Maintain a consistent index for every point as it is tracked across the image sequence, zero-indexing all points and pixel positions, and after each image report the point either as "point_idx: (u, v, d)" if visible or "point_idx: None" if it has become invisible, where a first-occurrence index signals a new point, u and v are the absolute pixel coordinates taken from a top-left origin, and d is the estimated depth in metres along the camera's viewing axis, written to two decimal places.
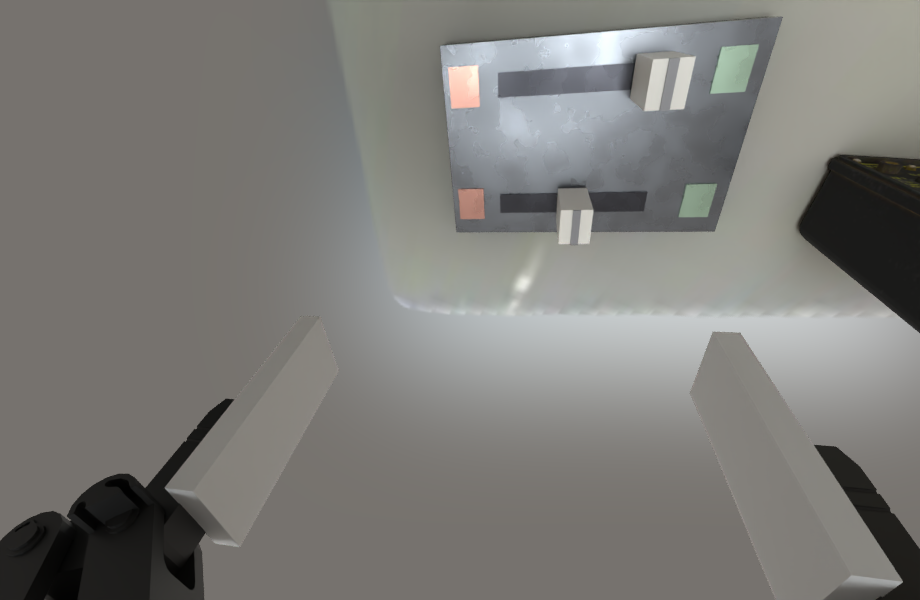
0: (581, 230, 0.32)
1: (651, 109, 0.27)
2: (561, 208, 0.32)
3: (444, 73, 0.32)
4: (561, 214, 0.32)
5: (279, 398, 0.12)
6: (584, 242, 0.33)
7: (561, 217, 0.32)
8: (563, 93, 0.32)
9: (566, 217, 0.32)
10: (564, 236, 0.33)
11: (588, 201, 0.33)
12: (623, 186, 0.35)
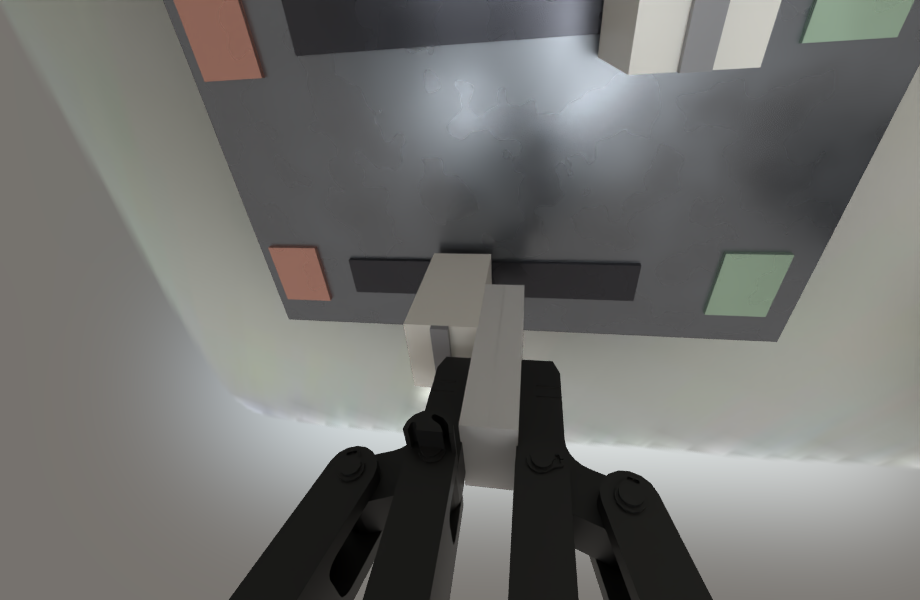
0: None
1: (652, 69, 0.08)
2: (408, 317, 0.14)
3: None
4: (406, 332, 0.13)
5: None
6: None
7: (408, 338, 0.14)
8: (441, 45, 0.13)
9: (419, 338, 0.14)
10: (424, 373, 0.14)
11: (477, 296, 0.14)
12: (591, 252, 0.17)
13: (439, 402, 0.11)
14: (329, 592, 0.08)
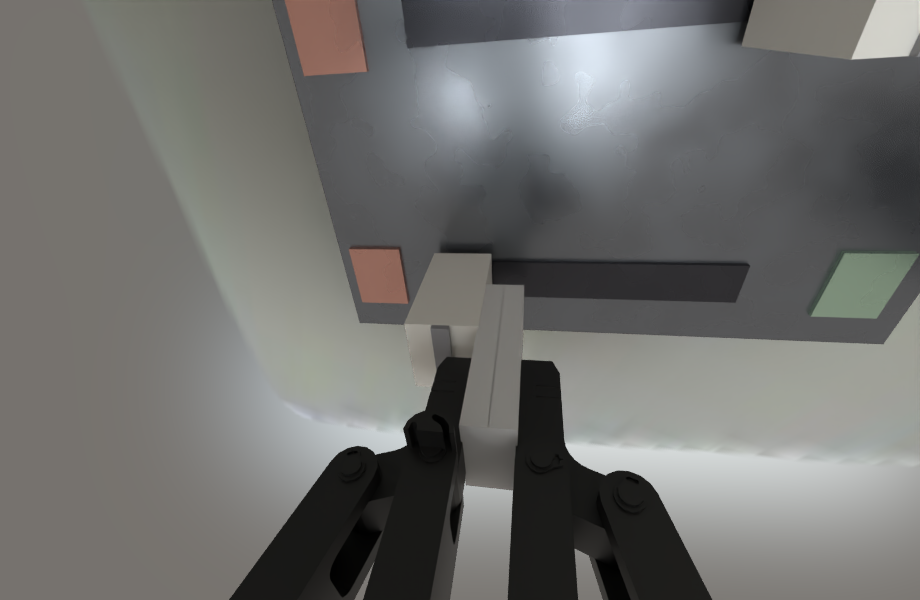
0: None
1: (880, 52, 0.08)
2: (409, 317, 0.14)
3: None
4: (407, 332, 0.13)
5: None
6: None
7: (409, 338, 0.14)
8: (567, 35, 0.12)
9: (420, 338, 0.14)
10: (425, 373, 0.14)
11: (478, 296, 0.14)
12: (696, 252, 0.16)
13: (439, 402, 0.11)
14: (329, 592, 0.08)
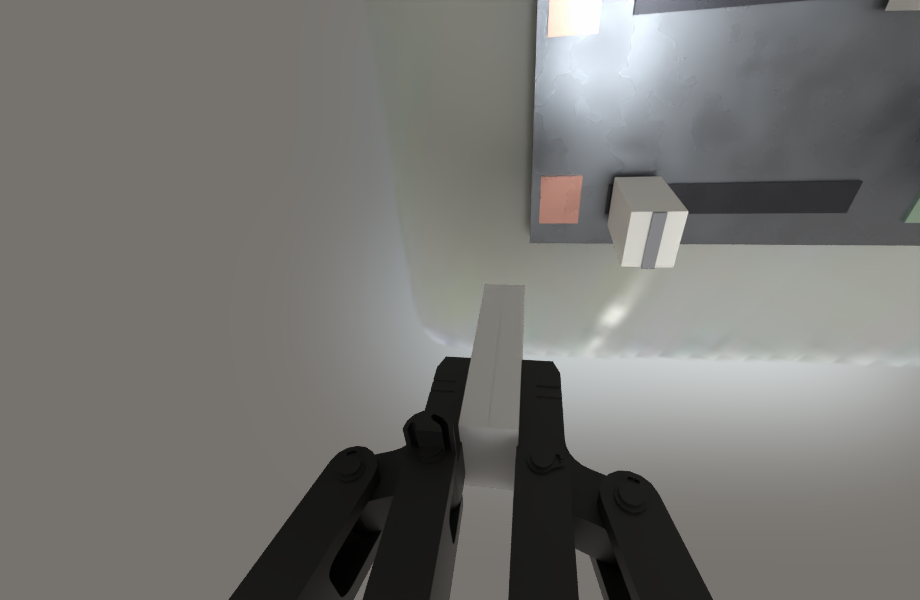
0: (663, 245, 0.19)
1: None
2: (631, 208, 0.19)
3: None
4: (631, 218, 0.19)
5: None
6: (665, 264, 0.20)
7: (631, 223, 0.19)
8: (756, 4, 0.18)
9: (640, 223, 0.19)
10: (632, 254, 0.20)
11: (673, 197, 0.20)
12: (821, 172, 0.21)
13: (439, 402, 0.11)
14: (328, 592, 0.08)
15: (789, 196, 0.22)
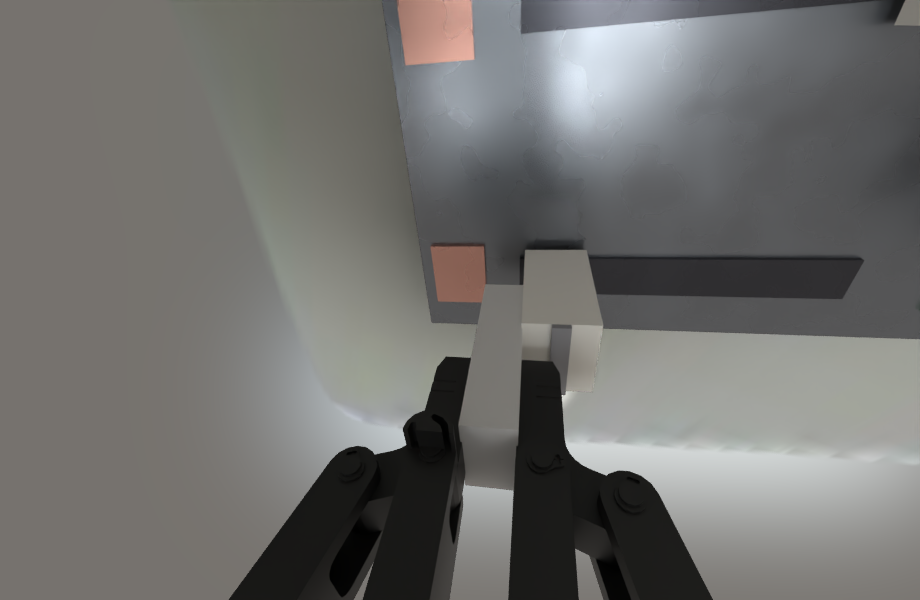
0: (573, 365, 0.13)
1: None
2: (524, 316, 0.13)
3: None
4: (523, 331, 0.13)
5: None
6: (581, 389, 0.14)
7: (524, 338, 0.13)
8: (698, 17, 0.12)
9: (536, 338, 0.13)
10: None
11: (590, 293, 0.14)
12: (805, 246, 0.15)
13: (439, 402, 0.11)
14: (329, 592, 0.08)
15: (762, 277, 0.16)
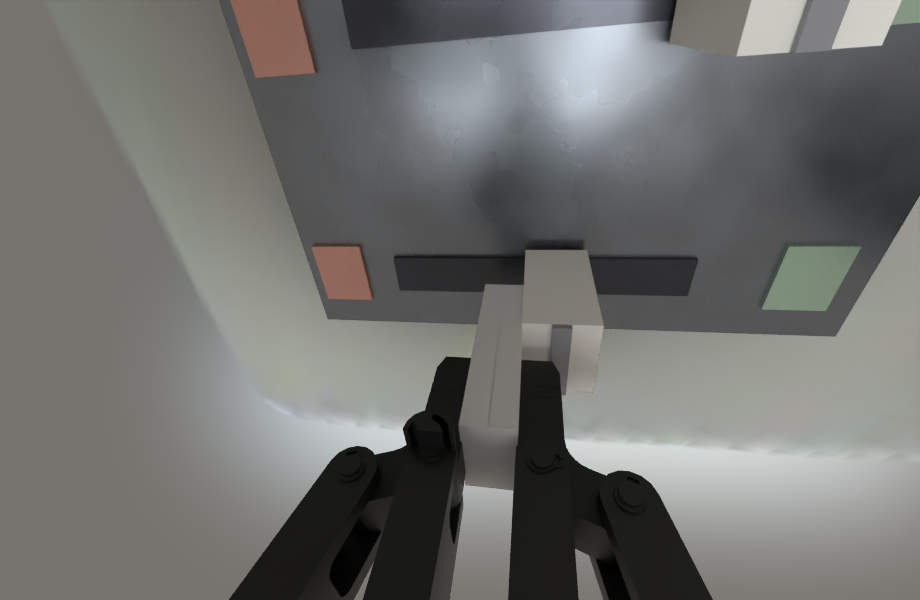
0: (574, 365, 0.13)
1: (762, 49, 0.08)
2: (524, 316, 0.13)
3: None
4: (524, 331, 0.13)
5: None
6: (581, 389, 0.14)
7: (524, 338, 0.13)
8: (503, 35, 0.13)
9: (537, 338, 0.13)
10: None
11: (590, 293, 0.14)
12: (645, 246, 0.16)
13: (439, 402, 0.11)
14: (329, 592, 0.08)
15: (612, 275, 0.17)
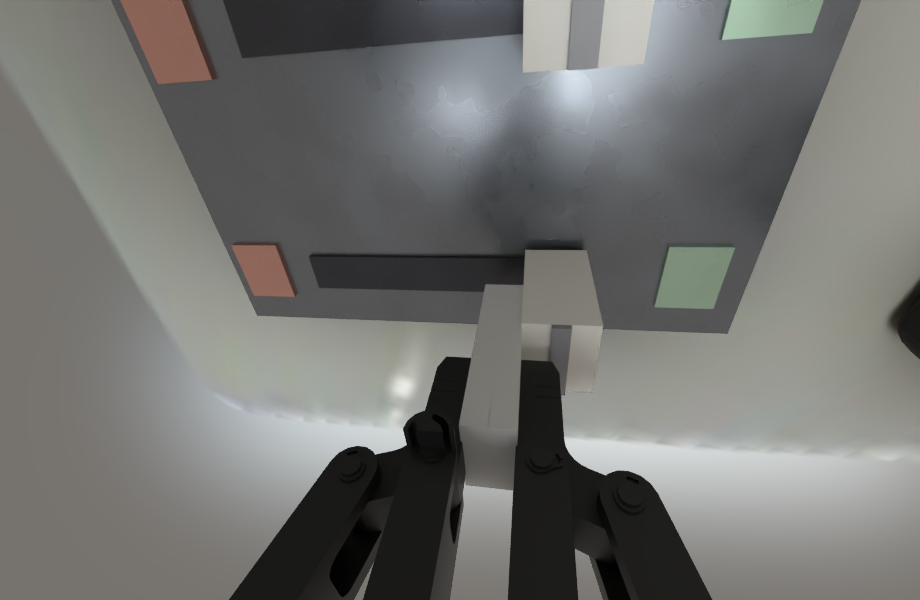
0: (573, 366, 0.13)
1: (544, 66, 0.09)
2: (524, 316, 0.13)
3: (116, 2, 0.14)
4: (523, 331, 0.13)
5: None
6: (580, 389, 0.14)
7: (524, 338, 0.13)
8: (379, 46, 0.14)
9: (536, 338, 0.13)
10: None
11: (590, 294, 0.14)
12: (540, 246, 0.17)
13: (439, 402, 0.11)
14: (329, 592, 0.08)
15: (513, 274, 0.18)
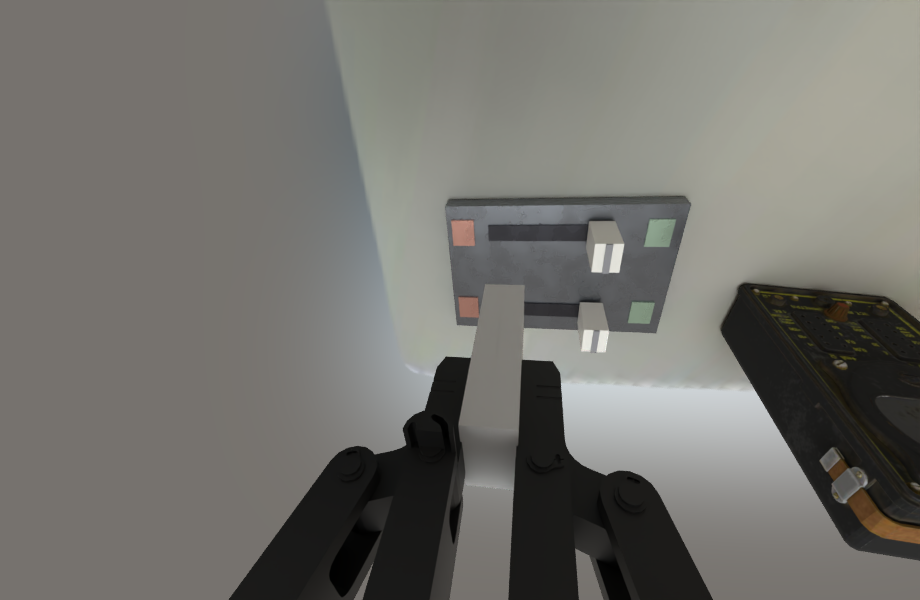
0: (599, 343, 0.42)
1: (596, 271, 0.37)
2: (584, 327, 0.42)
3: (448, 223, 0.43)
4: (584, 332, 0.41)
5: None
6: (601, 351, 0.43)
7: (584, 334, 0.42)
8: (537, 240, 0.42)
9: (588, 334, 0.42)
10: (586, 346, 0.43)
11: (604, 320, 0.42)
12: (585, 300, 0.46)
13: (439, 402, 0.11)
14: (329, 592, 0.08)
15: (573, 310, 0.46)
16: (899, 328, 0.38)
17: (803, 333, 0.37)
